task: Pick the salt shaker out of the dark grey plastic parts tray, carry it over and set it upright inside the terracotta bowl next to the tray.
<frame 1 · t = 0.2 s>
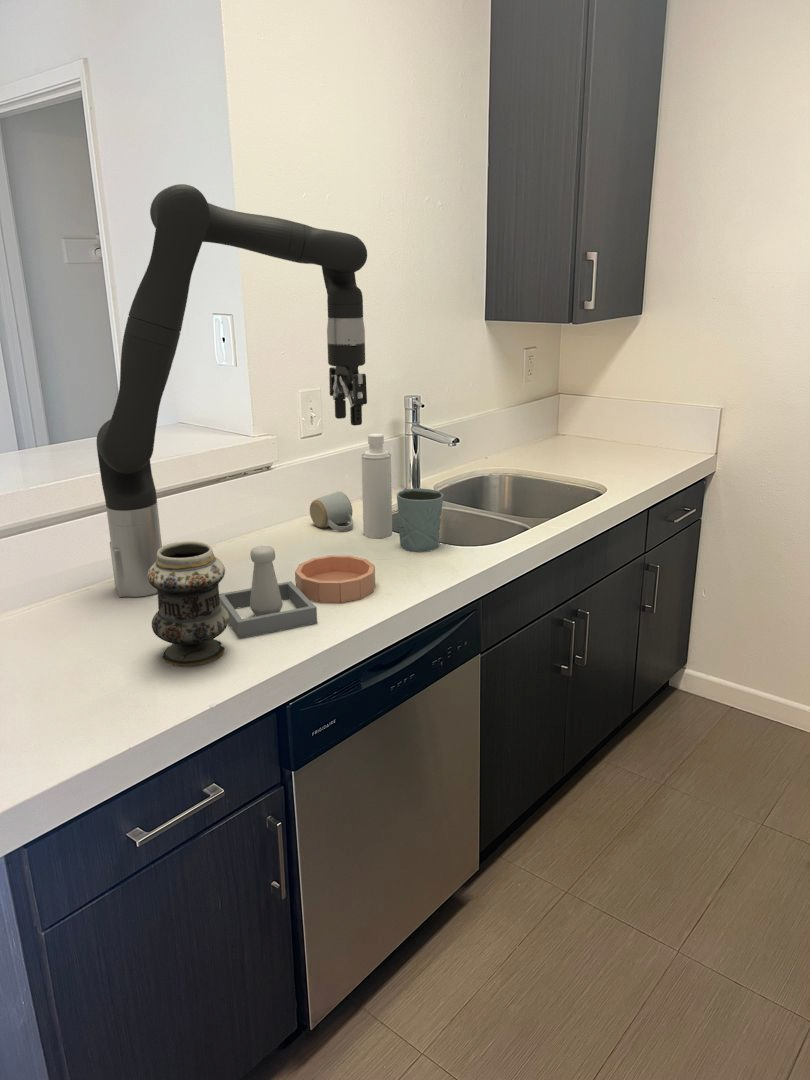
hand: (348, 421, 170), 29 cm above the worktop, tool pointing down, fingers open, 8 cm apart
salt shaker: (267, 617, 148), resting in parts tray
drinking glass: (420, 546, 184), on the worktop
grey bottle: (377, 534, 192), on the worktop
parts tray: (267, 616, 148), on the worktop
apothecary jar: (194, 654, 134), on the worktop
terracotta bowl: (336, 587, 161), on the worktop
ceramic mug: (335, 527, 199), on the worktop
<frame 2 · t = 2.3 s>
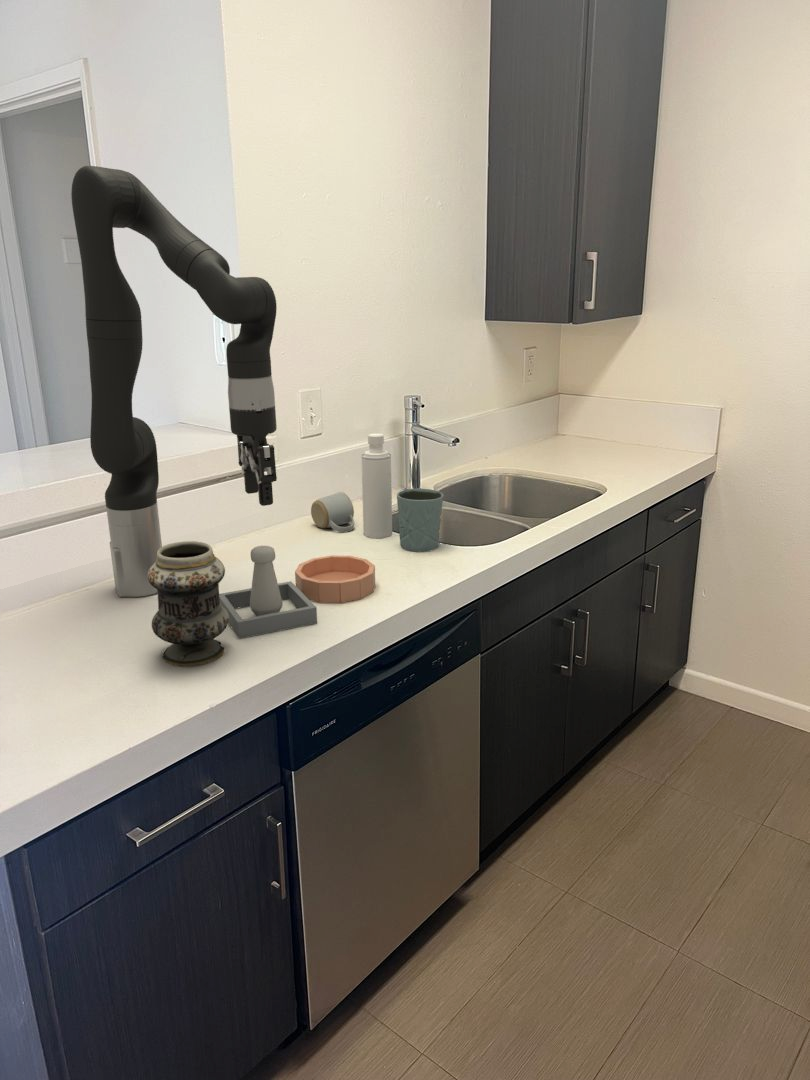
hand: (259, 498, 141), 22 cm above the worktop, tool pointing down, fingers open, 8 cm apart
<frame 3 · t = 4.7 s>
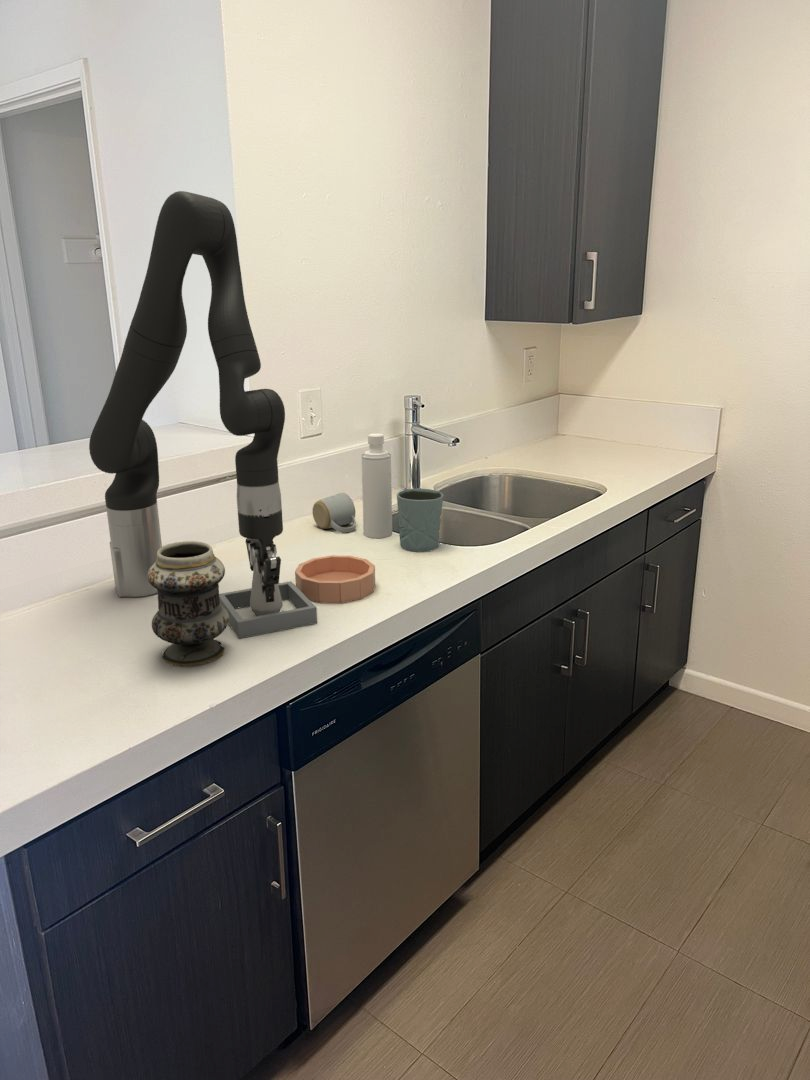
hand: (266, 599, 147), 3 cm above the worktop, tool pointing down, fingers closed on salt shaker, 3 cm apart
salt shaker: (267, 617, 148), resting in parts tray, touching gripper
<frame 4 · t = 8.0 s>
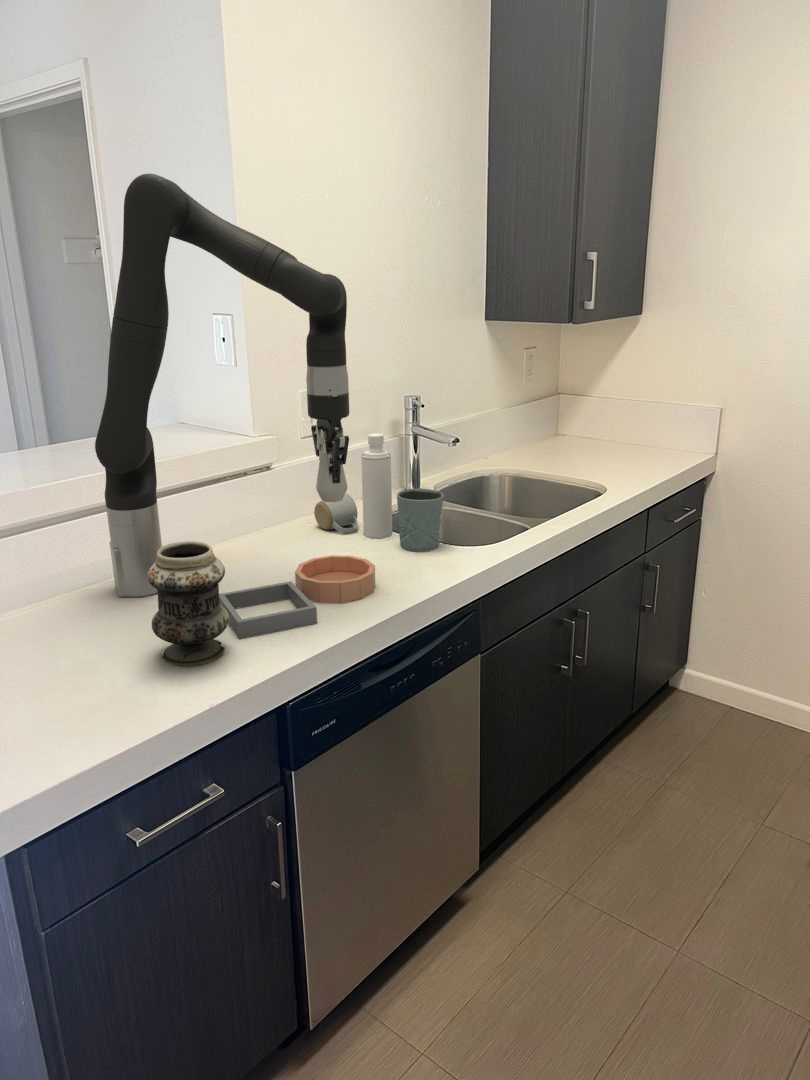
hand: (331, 483, 154), 21 cm above the worktop, tool pointing down, fingers closed on salt shaker, 3 cm apart
salt shaker: (332, 500, 155), point 18 cm above the worktop, touching gripper
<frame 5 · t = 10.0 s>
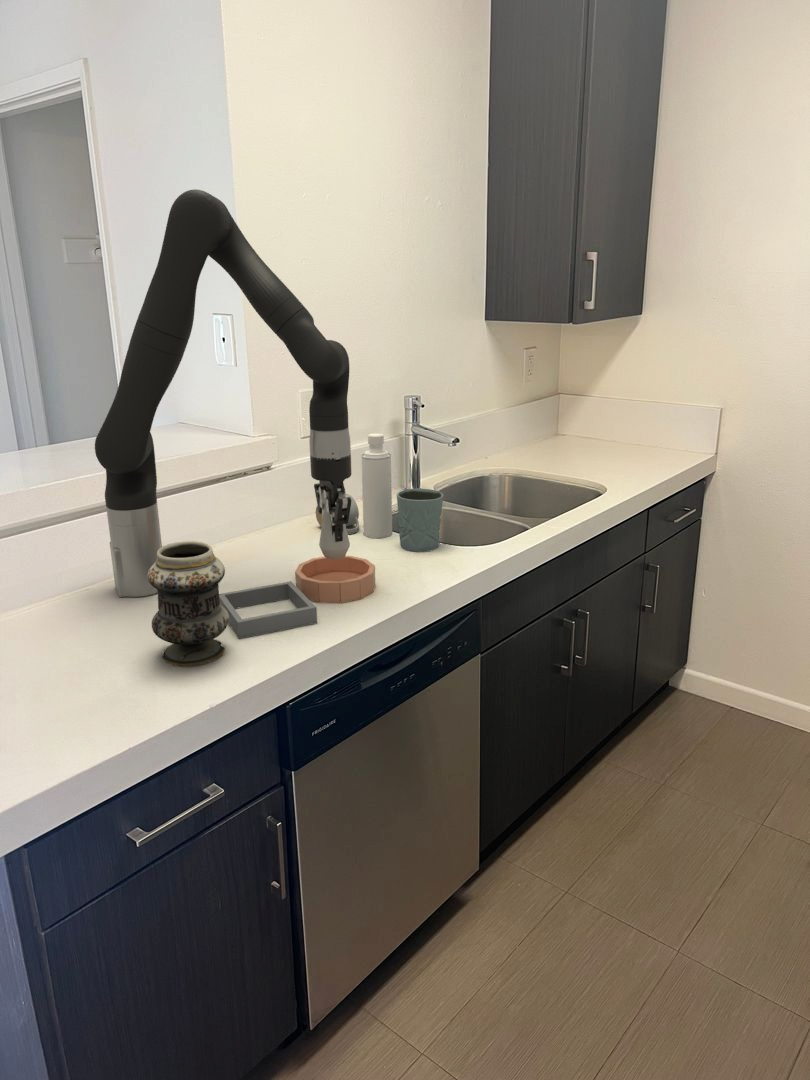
hand: (334, 540, 158), 10 cm above the worktop, tool pointing down, fingers closed on salt shaker, 3 cm apart
salt shaker: (335, 557, 159), point 6 cm above the worktop, touching gripper
when the fingers open (6 cm above the worktop, at t = 11.5 s): salt shaker drops 2 cm, resting on terracotta bowl.
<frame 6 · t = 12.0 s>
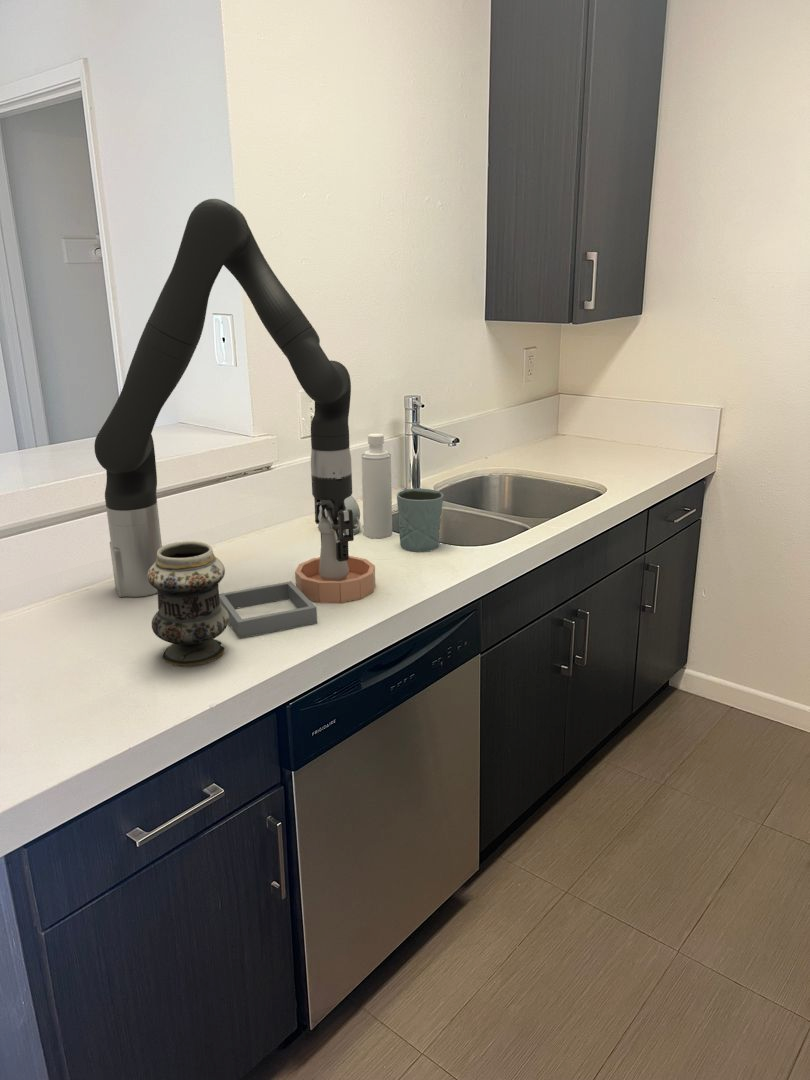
hand: (334, 553, 159), 7 cm above the worktop, tool pointing down, fingers open, 8 cm apart
salt shaker: (335, 583, 160), point 1 cm above the worktop, touching terracotta bowl
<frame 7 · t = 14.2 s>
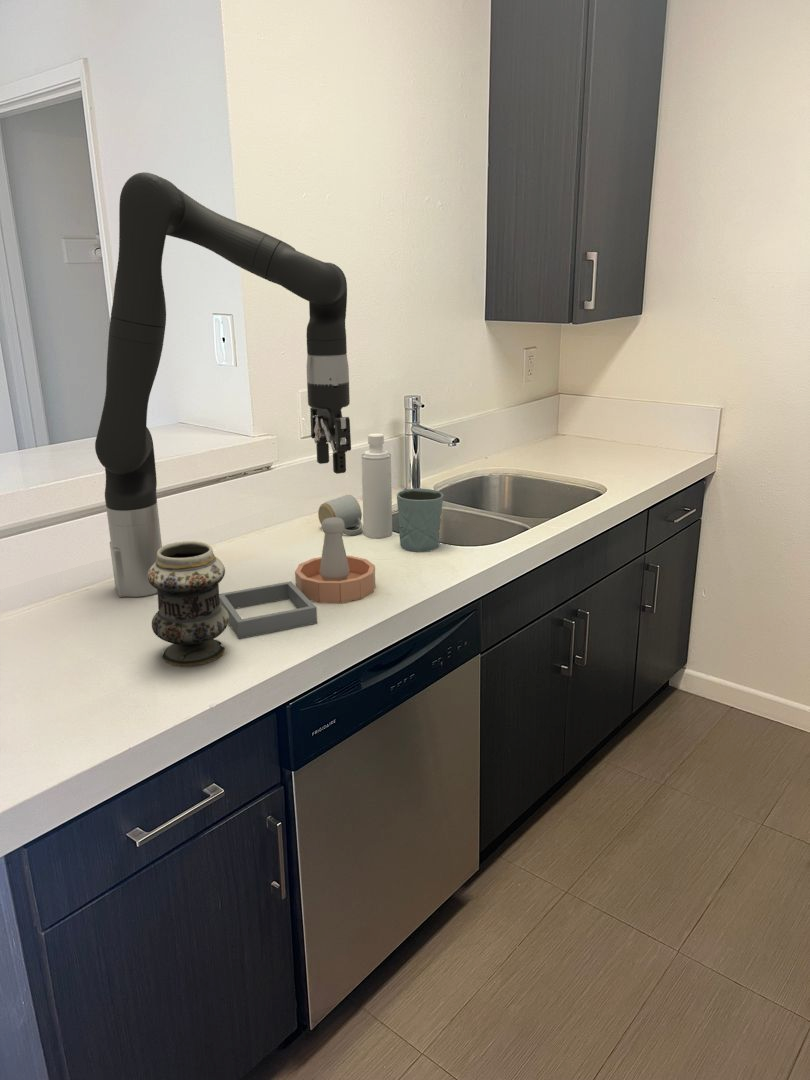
hand: (331, 467, 153), 24 cm above the worktop, tool pointing down, fingers open, 8 cm apart
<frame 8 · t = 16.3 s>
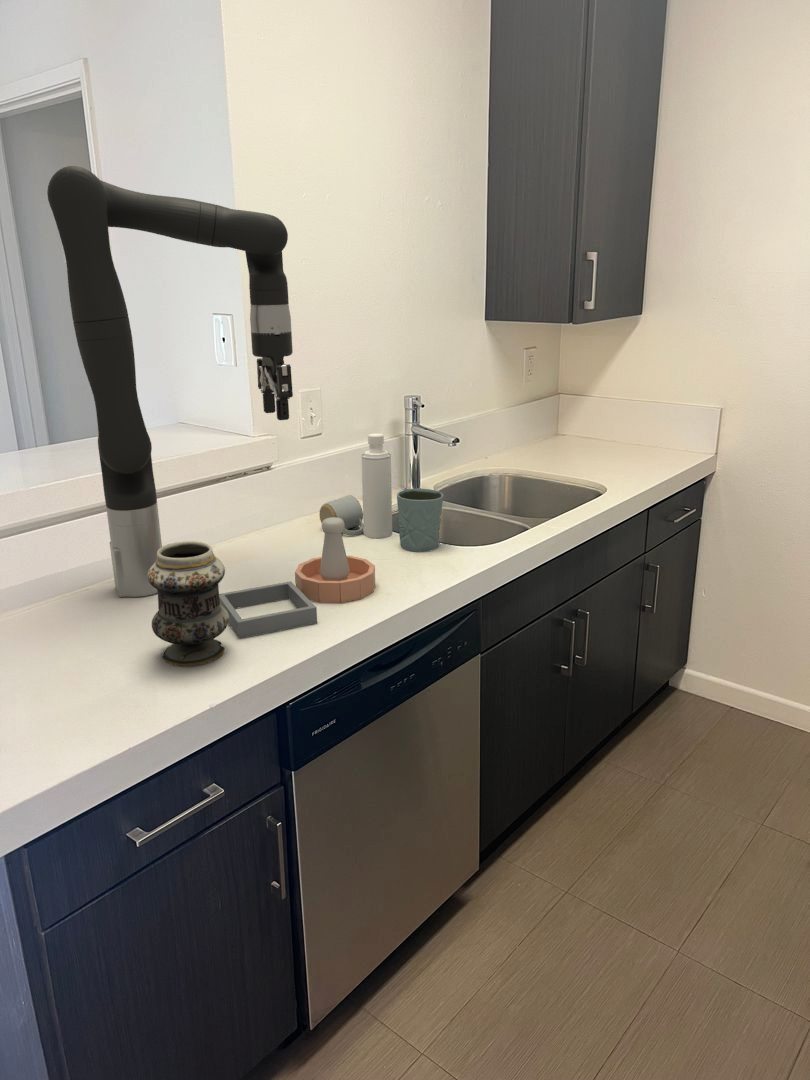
hand: (276, 416, 159), 32 cm above the worktop, tool pointing down, fingers open, 8 cm apart
at the end: salt shaker inside the target area on the terracotta bowl (0.1 cm from its centre), point 0.8 cm above the terracotta bowl's base; salt shaker tilted 0°; the gripper is holding nothing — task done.
